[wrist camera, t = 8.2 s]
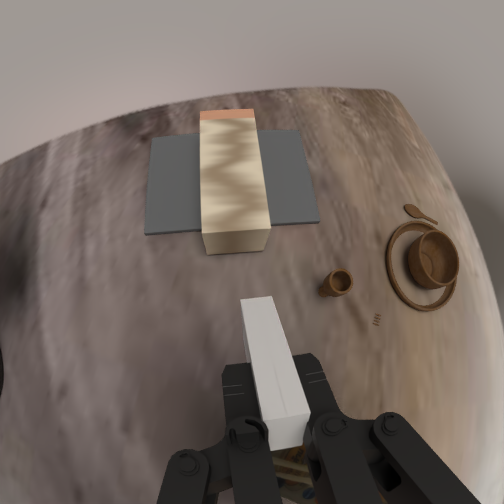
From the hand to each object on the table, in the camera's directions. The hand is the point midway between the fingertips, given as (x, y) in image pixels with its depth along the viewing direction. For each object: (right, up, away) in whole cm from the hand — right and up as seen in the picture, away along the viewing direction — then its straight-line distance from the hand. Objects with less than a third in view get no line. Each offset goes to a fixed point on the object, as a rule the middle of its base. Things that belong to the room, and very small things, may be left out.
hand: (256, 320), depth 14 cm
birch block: (-2, +4, +14) cm, 14 cm away
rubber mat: (-3, +13, +20) cm, 24 cm away
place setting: (+18, +2, +19) cm, 26 cm away
